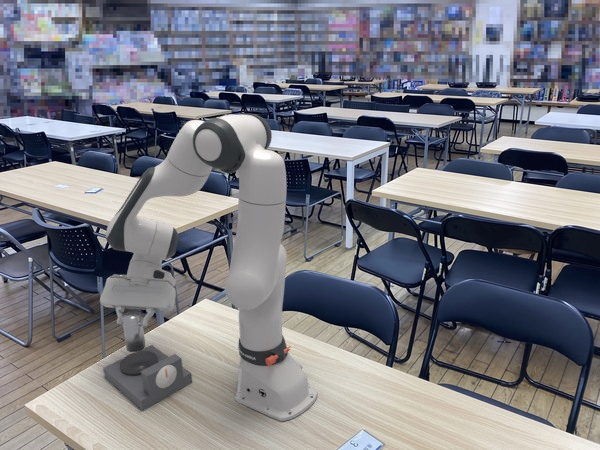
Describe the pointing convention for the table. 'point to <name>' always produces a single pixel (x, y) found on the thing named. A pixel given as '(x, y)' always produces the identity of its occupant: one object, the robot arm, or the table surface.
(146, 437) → the table surface
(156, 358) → the scale
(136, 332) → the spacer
